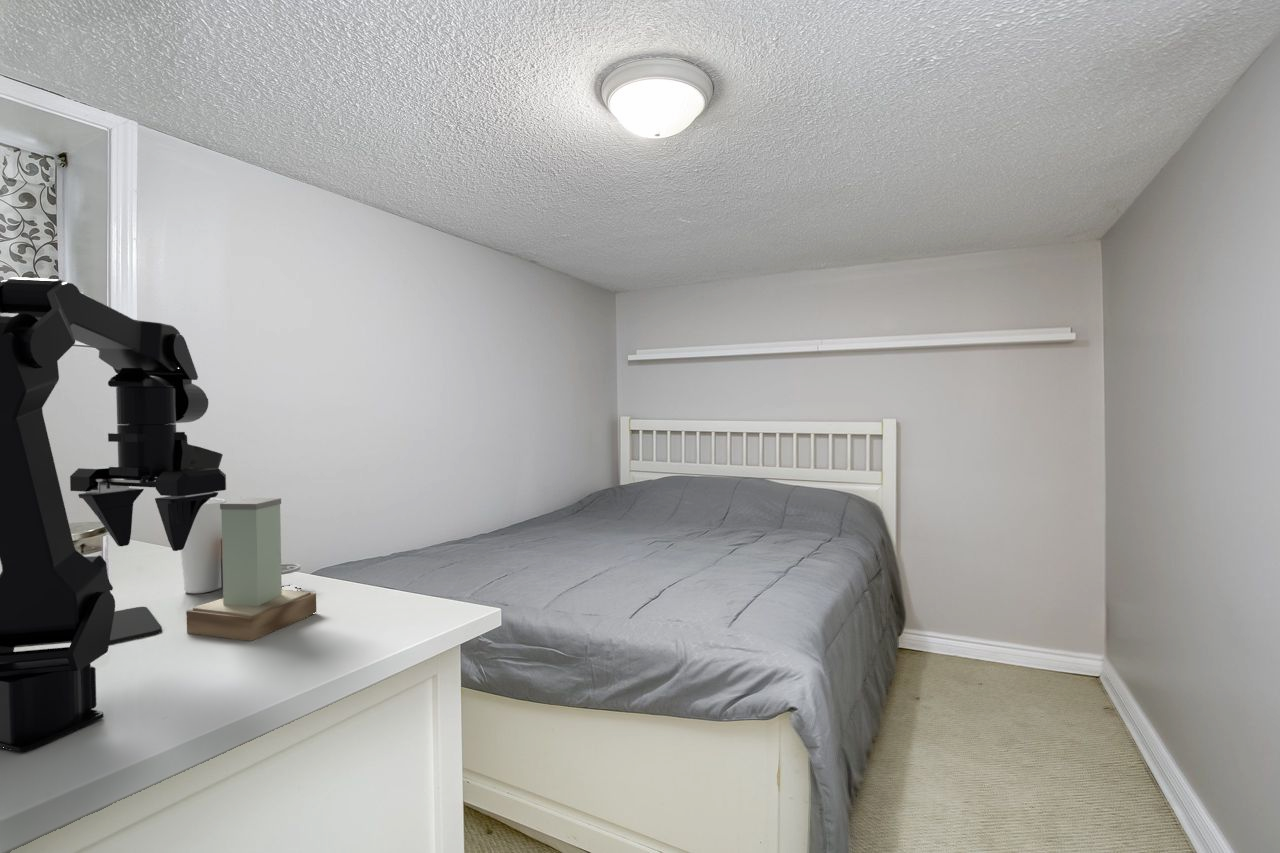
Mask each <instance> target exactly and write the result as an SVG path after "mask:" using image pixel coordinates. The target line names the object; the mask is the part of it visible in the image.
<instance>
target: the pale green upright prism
mask: <svg viewBox="0 0 1280 853" xmlns="http://www.w3.org/2000/svg"><path fill="white" fill-rule="evenodd" d="M281 504H282V498H281V497H280V498H278V497H276V498H274V497H269V498H268V497H267V498H266V497H264V498H263V497H245V498H240V499H237V500H232V501H226V503H221V504H220V509H221V516H222V563H223V591H222V594H223V595H222V598H223V605H234V606H259V605H261V604H263V603H265V602H267V601H270V600H272V599H274V598H276V597H278V596H280V595H282V586H283V585H282V575H281V564H282V543H281V542H282V536H281V533H282V532H281Z"/></svg>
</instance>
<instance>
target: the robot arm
mask: <svg viewBox="0 0 1280 853" xmlns="http://www.w3.org/2000/svg"><path fill="white" fill-rule="evenodd" d="M76 342H79V343H82V344H84V345H86V346H89V347H92V348H94V349H96V350H98V358H99V359H100V360H101V361H103V362H104V363H106V364H107V365H108V366H110V367H111V368H113V370H114V372H115V373H116V374H115V375H114V376H111V377H110V379H109V380H108V382H107V385H108V386H109V387H111V388H115V394H116V398H115V399H116V424H117V425H116V426H117V427H116V429H117V430H116V431H117V432H112V433H111V432H108V433H107V439H108V440H107V441H108V442H111V443H112V442H113V443H114V442H115V443H116V442H117V464H114V465H103V466H92V467H79V468H77V469H76V470H75V471H74V472H73V473H71V475H70V476H69V482H70V484H69V485H70V486H69V487H70V492H82V493H78V494H77V495H78V498H79V499H82V500H83V501H84V502H85V503H86V504H87V506H88V507H89V508H90V510H91V511H93V513H94V514H95V516H96V517H97V518H98V519H99V521H100V522H101V524H102V525H103V527H104V528H105V529H106V531H107V532H108V534H109V535H110V537H111V538H112V539H113V541H114V542H115V544H116V545H117V547H126V546H129V545H130V542H131V537H132V536H131V535H132V525H133V515H134V514H133V513H134V512H133V511H134V503H135V501H136V500H137V499H138V498H139V496H140V495H141V494H142V493H143V491H144V490H145V488H155V490H156V492H158V494H159V495H160V496H163V497H156V498H154V500H155V504H156V507H157V509H158V514H159V516H160V519H161V522H162V524H163V528H164V531H165V534H166V537H167V541H168V543H169V545H170V548H171V550H172V551H174V552H178V551H180V550H182V549H183V548H184V546H185V544H186V541H187V538H188V536H189V533H190V530H191V528H192V525H193V523H194V520H195V518H196V515H197V513H198V511H199V509H200V508H201V506H202V505H203V504H204V503H206V502H207V501H208V500H209V499H214V498H216V497H217V496H218V495H219V492H221V491H226V490H227V475H226V474H225V472H223V471H222V470H221V469H220V465H221V462H222V458H223V456H224V455H223V453H221V452H217V451H214V450H211V449H207V448H205V447H202V446H197V445H193V444H189V443H188V435H187V434H186V432H185V431H177V424H183V423H184V424H185V423H192V422H195V421H198V420H200V419H201V418H202V417H203V416H204V415H205V414H206V413H207V410H208V408H209V398H208V396H207V394H206V393H205V391H204V389H202V388H201V387H200V386H198V385H196V384H194V383H193V382H192V381H197V380H198V379H199V376H198V373H197V369H196V366H195V364H194V362H193V358H192V355H191V352H190V350H189V346H188V344H187V342H186V339H185V337H184V336H183V335H182V334H181V333H180V331H179V330H178V329H177V328H176V327H175V326H174V325H172V324H166V323H162V322H155V321H147V320H145V321H144V320H138V319H134V318H131V317H130V316H128V315H127V314H124V313H122V312H120V311H118V310H116V309H114V308H112V307H111V306H109V305H107V304H104V303H103V302H102V301H99V300H97V299H95V298H93V297H92V296H89V295H87V294H85V293H83V292H82V291H80V290H79V288H78V286H76V285H75V284H74V283H71V282H66V281H65V280H62V279H56V278H55V279H53V278H51V279H50V278H36V277H35V278H33V277H10V278H8V279H3V280H0V566H1V572H0V747H2V748H1V749H3V747H4V748H7V749H6V750H8V749H11V750H10V751H12V750H13V751H14V752H17V753H18V752H19V753H24V752H28V751H30V750H33V749H35V748H38V747H39V746H42V745H44V744H46V743H49V742H51V741H53V740H55V739H58V738H60V737H63V736H64V735H67V734H69V733H72V732H74V731H76V730H78V729H81V728H83V727H86V726H87V725H89V724H91V723H93V722H94V723H95V722H96V721H99V720H102V718H104V717H105V716H104V711H101V710H96V709H95V708H96V706H97V704H98V703H97V673H96V670H97V669H96V667H95V666H92V665H91V664H92V663H93V662H95V661H96V660H98V659H99V658H101V657H102V656H103V655H105V654H107V652H108V651H109V646H110V645H109V641H110V635H111V630H112V624H113V618H114V612H115V611H116V600H115V597H114V595H113V593H111V591H113V589H114V587H113V585H112V583H111V582H110V579H109V577H108V576H109V575H108V567H107V566H108V564H107V562H106V560H105V559H104V558H103V556H102V555H99V554H98V555H83V554H82V553H80V552H79V551H78V550H77V549H76V547H75V544H74V539H73V535H72V532H71V527H70V524H69V519H68V515H67V510H66V507H65V503H64V502H65V501H64V498H63V494H62V490H61V486H60V485H61V484H60V480H59V477H58V473H57V468H56V463H55V460H54V454H53V452H52V447H51V443H50V439H49V435H48V431H47V427H46V426H47V425H46V422H45V418H44V412H43V407H44V406H45V404H46V402H47V401H48V399H49V397H50V395H51V394H52V392H53V391H54V389H55V387H56V385H57V384H58V382H59V380H60V374H59V365H58V364H59V363H58V361H59V360H60V359H61V358H62V357H64V355H65V354H66V353H67V352H68V351H69V350H70V349H71V348H72V347H73V346H74V345H75V344H76ZM133 487H134V488H133ZM136 487H137V488H136ZM138 487H139V488H138ZM141 487H142V488H141ZM83 492H84V493H83ZM60 644H70V645H69V646H65V647H56V648H55V647H54V648H43V649H32V650H30V649H29V650H21V651H20V650H19V651H15V648H25V647H35V646H36V647H38V646H49V645H60Z"/></svg>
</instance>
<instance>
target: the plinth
mask: <svg viewBox="0 0 1280 853" xmlns="http://www.w3.org/2000/svg"><path fill="white" fill-rule="evenodd" d="M315 612H316V613H317V593H316V592H315V593H313V592H311V591H302V590H301V591H293V590H283V589H282V595H280V596H278V597H276V598H274V599H272V600H270V601H267V602H265V603H263V604H261V605H259V606H234V605H223V597H222V598H220V599H215V600H213V601H210V602H207V603H204V604H200V605H198V606H195V607H192V609H189V610H186V612H185V613H186V633H187V634H194V635H201V636H210V637H218V638H224V639H230V640H231V639H234V640H240V641H248V642H251V641H253V640H256V639H259V638H262V637H263V636H266V635H269V634H271V633H274V632H275V631H278V630H281V629H282V628H283V629H284V628H286V627H287V626H289V625H293V624H295V623H297V622H299V621H302V620H304V619H306V618H305V617H307V616H309V615H311V614H313V613H315ZM311 616H312V615H311ZM309 617H310V616H309ZM303 618H304V619H303ZM307 618H308V617H307ZM301 619H302V620H301Z"/></svg>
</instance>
